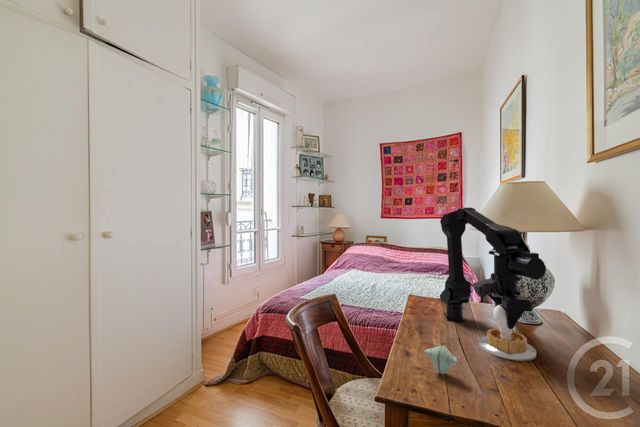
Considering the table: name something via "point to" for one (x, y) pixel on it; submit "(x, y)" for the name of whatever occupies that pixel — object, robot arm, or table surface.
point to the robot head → (441, 358)
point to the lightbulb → (502, 323)
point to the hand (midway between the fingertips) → (505, 324)
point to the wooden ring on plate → (507, 346)
